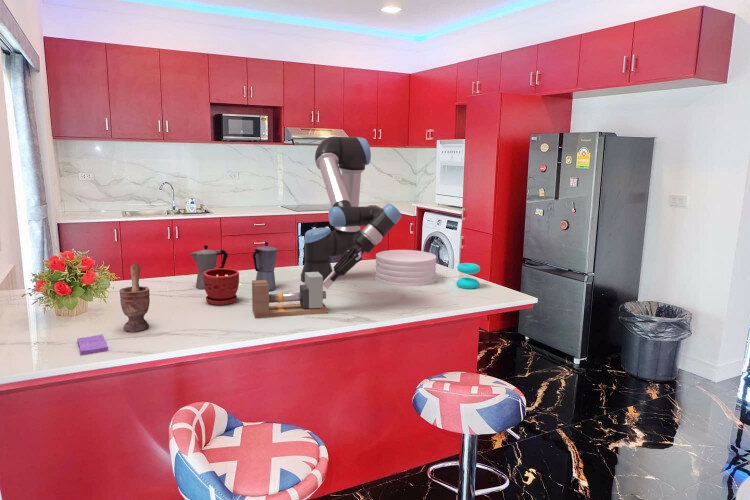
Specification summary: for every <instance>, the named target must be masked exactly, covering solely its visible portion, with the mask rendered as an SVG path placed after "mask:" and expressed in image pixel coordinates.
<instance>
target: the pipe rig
mask: <svg viewBox="0 0 750 500" xmlns="http://www.w3.org/2000/svg"><path fill="white" fill-rule="evenodd" d="M251 295H252V296H251V297H252V298H251V299H252V302H251V303H252V308H251V309H252V314H253V316H254V319H265V318H277V317H278V318H279V317H291V316H303V315H304V316H305V315H316V314H317V315H318V314H328V312H329V308H328V307H327V305H326V304H325V303H324V302H323V307H322V308H303V307H302V306H301V304H300V303H292V304H290V303H288V304H276V305H275V304H274V305H273V304H272V305H270V304H271V303H287V302H300V301H303V292H300V291H299V292H287V293H284V292H280V293H279V292H278V293H272V294H271V293H270V291H269V284H268V283H267V281H266V280H256V279H255V280H251ZM323 300H327V292H326V290H323Z"/></svg>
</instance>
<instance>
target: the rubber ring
mask: <svg viewBox="0 0 750 500" xmlns="http://www.w3.org/2000/svg"><path fill="white" fill-rule="evenodd" d="M299 292H303V301H299V304H301V306H302V307H303V308H309V289H308V287H307V286H306V285H305V284H299Z"/></svg>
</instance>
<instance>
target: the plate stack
mask: <svg viewBox="0 0 750 500" xmlns="http://www.w3.org/2000/svg"><path fill="white" fill-rule="evenodd" d="M375 258H376V259H375V281H377V282H378V283H381V284H385V285H388V286H394V287H423V286H430V285H432V284H434V283H435V282H436V276H437V275H436V274H437V272H436V271H437V255H436V254H434V253H431V252H428V251H427V252H426V251H422V250H414V249H413V250H412V249H389V250H383V251H379V252H376V254H375Z"/></svg>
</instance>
